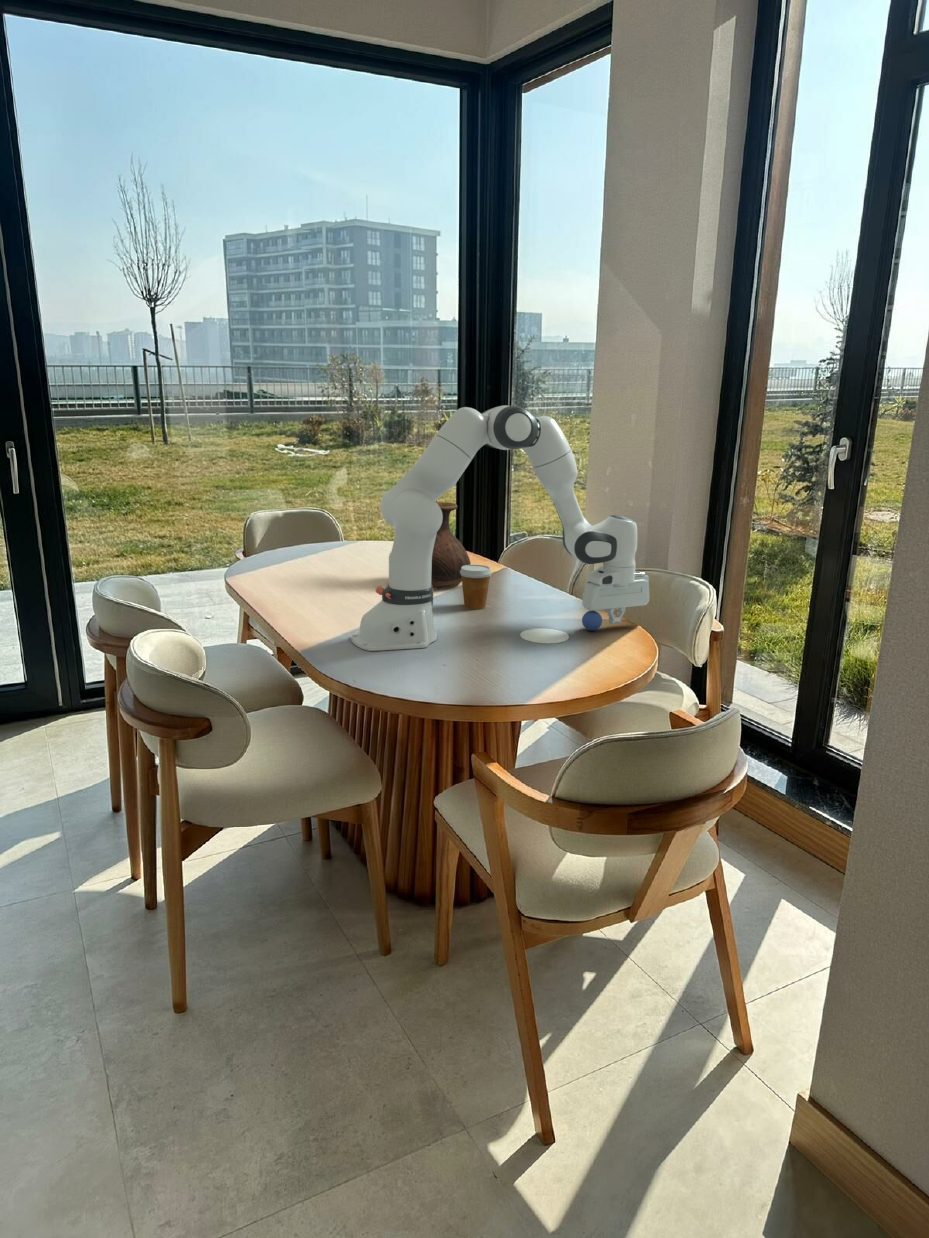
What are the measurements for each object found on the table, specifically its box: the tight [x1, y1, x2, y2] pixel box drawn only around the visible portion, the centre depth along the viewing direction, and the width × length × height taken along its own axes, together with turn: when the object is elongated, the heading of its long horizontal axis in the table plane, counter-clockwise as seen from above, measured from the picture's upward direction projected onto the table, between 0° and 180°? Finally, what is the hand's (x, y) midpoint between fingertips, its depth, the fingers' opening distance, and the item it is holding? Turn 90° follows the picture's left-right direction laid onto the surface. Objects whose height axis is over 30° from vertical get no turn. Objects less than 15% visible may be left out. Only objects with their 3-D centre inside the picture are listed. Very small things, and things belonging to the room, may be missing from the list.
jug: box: [431, 499, 472, 590], centre depth 283 cm, size 22×22×30 cm
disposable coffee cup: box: [460, 564, 493, 610], centre depth 259 cm, size 10×10×12 cm
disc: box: [520, 628, 570, 645], centre depth 233 cm, size 13×13×1 cm
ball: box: [581, 610, 603, 632], centre depth 238 cm, size 6×6×6 cm
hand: (614, 622), depth 242 cm, fingers closed
